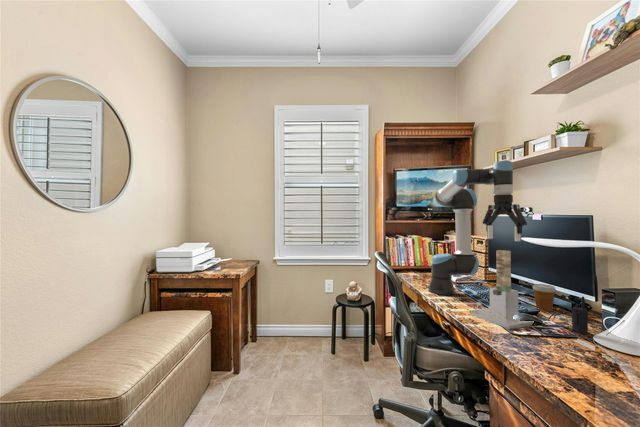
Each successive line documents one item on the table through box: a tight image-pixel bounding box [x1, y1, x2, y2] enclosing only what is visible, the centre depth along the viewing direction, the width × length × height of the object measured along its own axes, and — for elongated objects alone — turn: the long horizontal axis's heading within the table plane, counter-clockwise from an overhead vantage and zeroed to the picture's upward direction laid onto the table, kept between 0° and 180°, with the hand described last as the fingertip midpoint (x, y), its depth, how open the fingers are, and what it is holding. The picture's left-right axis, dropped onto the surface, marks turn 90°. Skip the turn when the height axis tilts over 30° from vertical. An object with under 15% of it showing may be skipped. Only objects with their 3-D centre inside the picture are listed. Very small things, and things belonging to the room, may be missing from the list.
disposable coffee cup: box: [532, 283, 557, 312], centre depth 147 cm, size 10×10×12 cm
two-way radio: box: [571, 296, 589, 335], centre depth 119 cm, size 6×4×15 cm
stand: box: [469, 286, 541, 330], centre depth 135 cm, size 20×20×14 cm
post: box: [495, 249, 512, 291], centre depth 135 cm, size 4×4×24 cm
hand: (503, 240), depth 135 cm, fingers open, 13 cm apart
